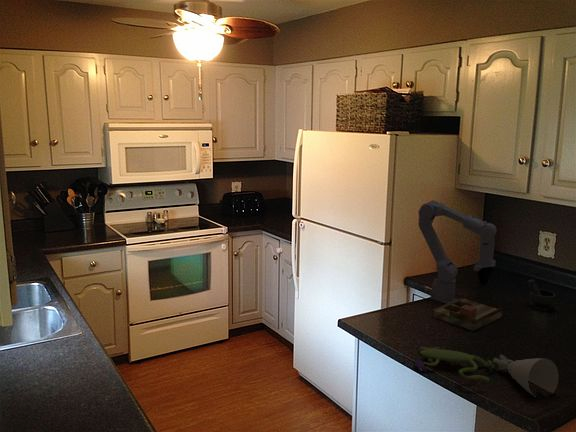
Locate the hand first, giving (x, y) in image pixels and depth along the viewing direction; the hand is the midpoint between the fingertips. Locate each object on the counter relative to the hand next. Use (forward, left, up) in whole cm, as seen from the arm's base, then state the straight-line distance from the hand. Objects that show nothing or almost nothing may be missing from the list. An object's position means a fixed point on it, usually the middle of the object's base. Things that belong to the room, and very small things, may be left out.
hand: (483, 284), depth 217 cm
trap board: (+2, -14, -10) cm, 18 cm away
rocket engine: (+40, -47, -11) cm, 63 cm away
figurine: (+22, -57, -11) cm, 62 cm away
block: (+6, -22, -7) cm, 24 cm away
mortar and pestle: (+16, +20, -11) cm, 28 cm away
